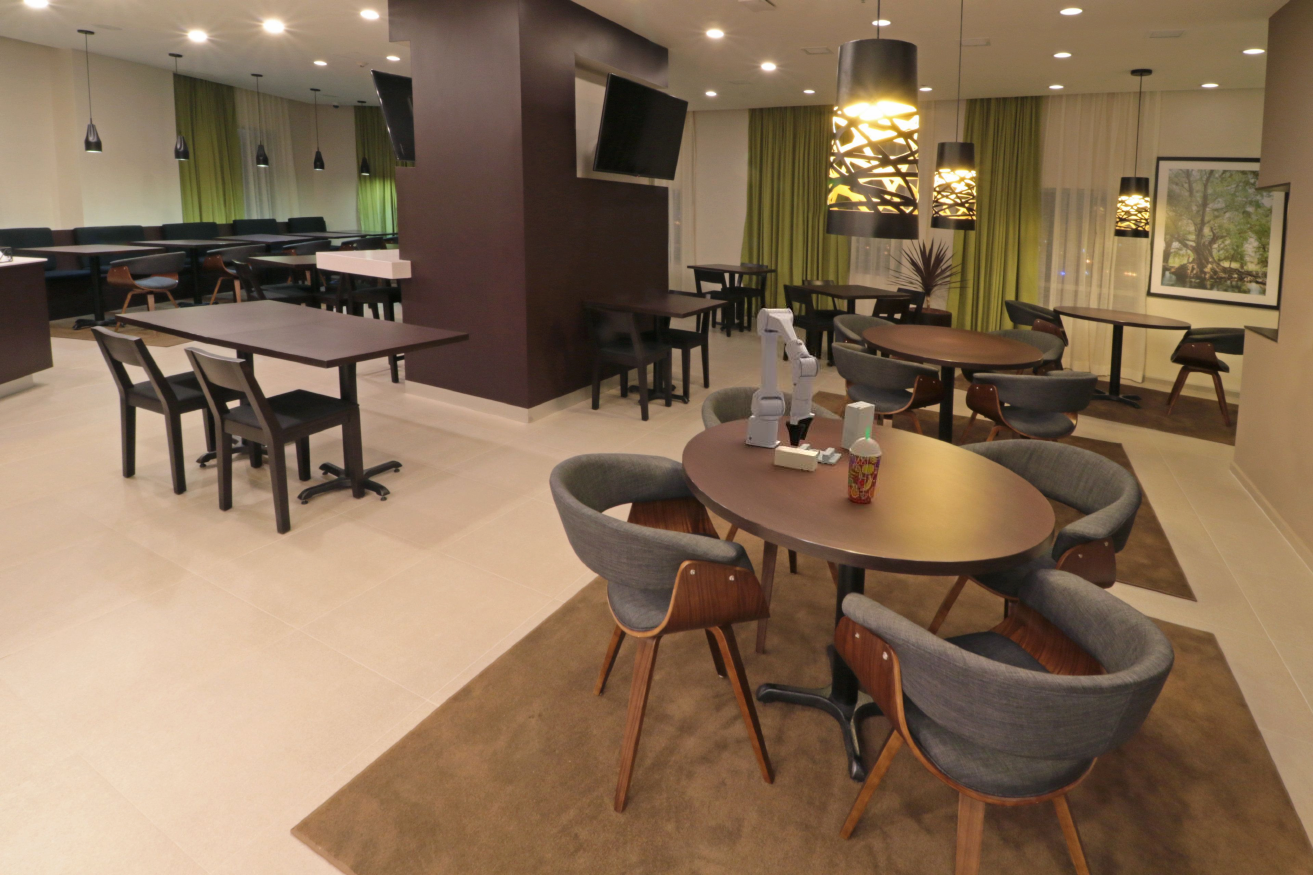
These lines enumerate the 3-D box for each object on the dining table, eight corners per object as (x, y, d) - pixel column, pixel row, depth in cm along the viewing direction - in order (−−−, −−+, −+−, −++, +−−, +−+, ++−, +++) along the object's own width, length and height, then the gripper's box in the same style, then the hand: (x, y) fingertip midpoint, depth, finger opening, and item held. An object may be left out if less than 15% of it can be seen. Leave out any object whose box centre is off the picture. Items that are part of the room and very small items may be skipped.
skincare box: (856, 443, 263) (861, 400, 259) (871, 448, 259) (876, 404, 254) (840, 447, 258) (844, 403, 254) (855, 452, 253) (860, 407, 249)
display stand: (789, 457, 245) (789, 449, 245) (797, 449, 254) (798, 441, 253) (833, 465, 240) (834, 457, 239) (841, 456, 249) (842, 448, 248)
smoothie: (839, 494, 216) (847, 423, 210) (869, 494, 216) (878, 424, 211) (849, 505, 208) (858, 432, 202) (880, 505, 208) (889, 432, 203)
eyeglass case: (774, 465, 238) (775, 449, 237) (778, 461, 242) (780, 445, 241) (812, 472, 233) (814, 456, 232) (817, 468, 237) (818, 452, 236)
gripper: (809, 405, 224) (804, 450, 228) (821, 395, 237) (817, 438, 240) (784, 401, 227) (780, 446, 231) (798, 392, 239) (794, 435, 243)
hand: (797, 442), depth 236 cm, fingers open, 7 cm apart
